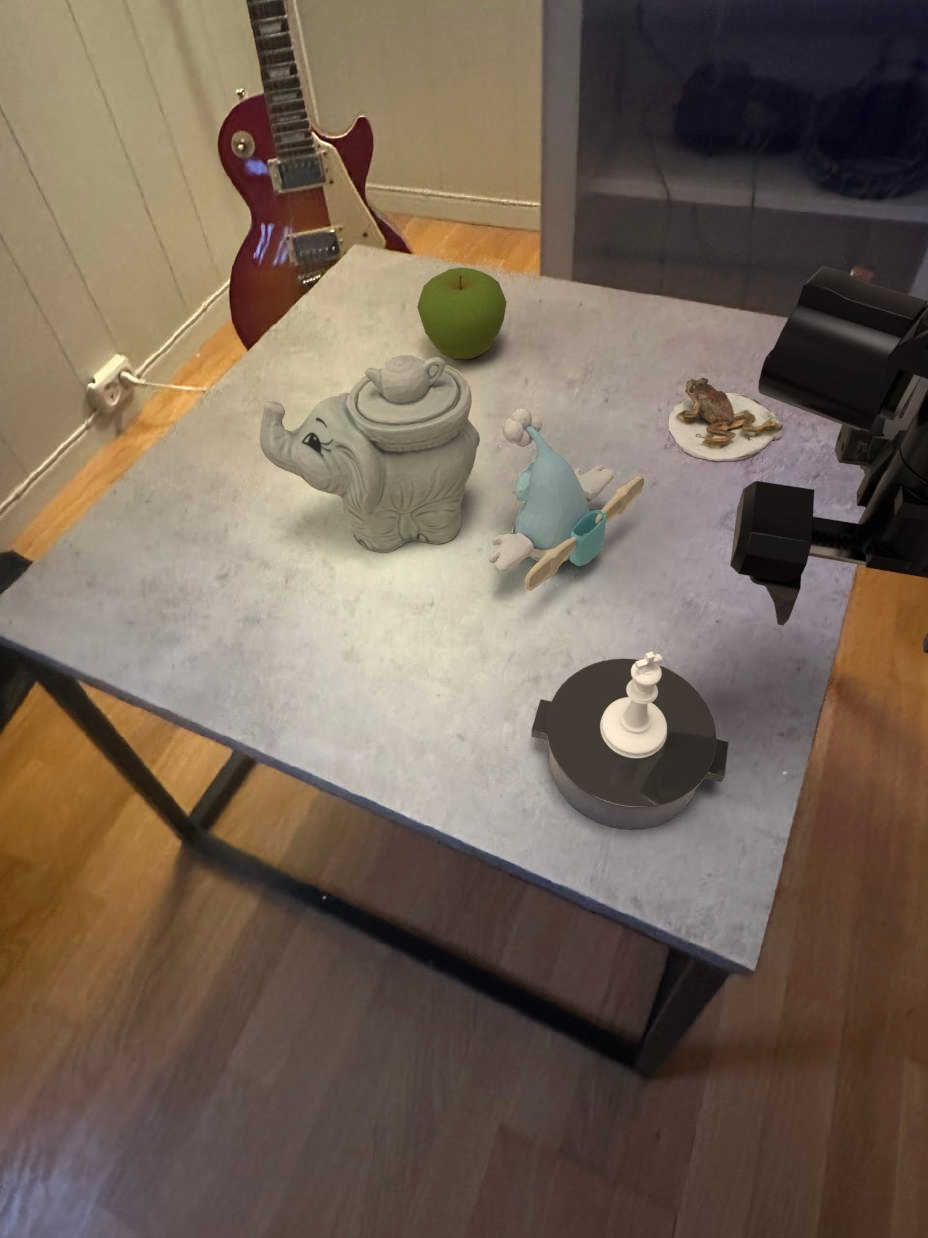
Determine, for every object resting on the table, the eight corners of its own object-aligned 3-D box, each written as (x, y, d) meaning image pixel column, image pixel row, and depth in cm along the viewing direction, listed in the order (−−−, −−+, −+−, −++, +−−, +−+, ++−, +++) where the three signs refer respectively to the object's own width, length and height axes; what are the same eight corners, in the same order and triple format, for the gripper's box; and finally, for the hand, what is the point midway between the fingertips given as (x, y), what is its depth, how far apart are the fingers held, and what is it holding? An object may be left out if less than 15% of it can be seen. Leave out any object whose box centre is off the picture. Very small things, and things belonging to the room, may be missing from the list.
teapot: (289, 539, 78) (231, 386, 63) (372, 451, 85) (338, 295, 70) (422, 598, 72) (394, 444, 57) (499, 498, 79) (492, 338, 64)
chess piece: (678, 746, 56) (703, 673, 48) (617, 767, 55) (632, 697, 47) (648, 692, 59) (666, 615, 51) (589, 712, 58) (599, 637, 50)
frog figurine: (642, 425, 85) (646, 397, 82) (716, 380, 89) (722, 351, 85) (722, 478, 79) (730, 450, 76) (797, 427, 83) (807, 398, 80)
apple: (418, 333, 98) (408, 259, 90) (497, 320, 99) (494, 245, 91) (430, 383, 92) (421, 308, 84) (515, 369, 93) (513, 292, 85)
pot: (725, 712, 63) (738, 680, 59) (707, 856, 56) (721, 831, 52) (552, 674, 66) (554, 641, 62) (515, 806, 59) (515, 779, 55)
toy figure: (562, 480, 80) (568, 357, 68) (643, 526, 76) (665, 403, 64) (452, 571, 74) (438, 453, 62) (533, 628, 69) (535, 513, 57)
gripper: (1138, 384, 41) (993, 569, 53) (777, 343, 45) (721, 524, 57) (1188, 532, 35) (1010, 702, 47) (764, 469, 39) (705, 641, 51)
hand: (851, 633), depth 51 cm, fingers open, 9 cm apart
